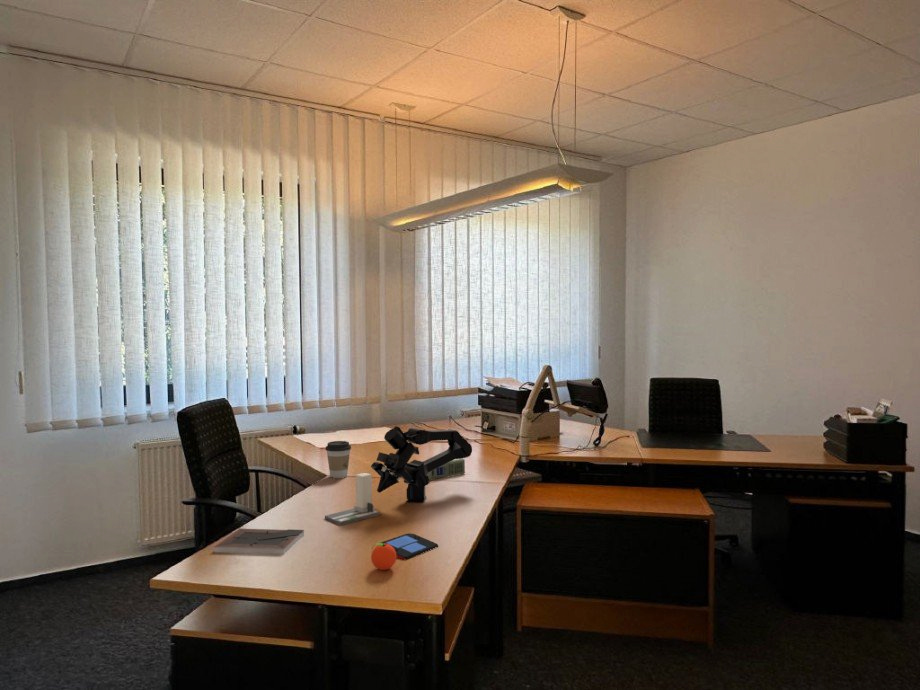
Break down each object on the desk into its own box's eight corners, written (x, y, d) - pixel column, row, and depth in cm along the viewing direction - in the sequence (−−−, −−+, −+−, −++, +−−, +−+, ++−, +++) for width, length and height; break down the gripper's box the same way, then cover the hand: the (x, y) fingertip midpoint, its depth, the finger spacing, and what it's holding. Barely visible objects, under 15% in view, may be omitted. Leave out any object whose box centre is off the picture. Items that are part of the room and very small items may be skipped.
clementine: (363, 569, 171) (362, 544, 171) (379, 561, 177) (379, 536, 177) (385, 576, 167) (385, 550, 166) (401, 567, 172) (401, 542, 172)
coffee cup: (346, 480, 268) (345, 445, 268) (321, 479, 271) (320, 444, 270) (355, 473, 279) (355, 440, 279) (331, 472, 282) (331, 440, 281)
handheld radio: (466, 474, 278) (418, 483, 264) (461, 473, 281) (414, 481, 266) (465, 459, 278) (418, 467, 264) (461, 458, 281) (414, 466, 266)
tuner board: (363, 508, 227) (363, 505, 227) (379, 514, 220) (379, 511, 220) (324, 518, 216) (324, 515, 216) (340, 525, 209) (340, 521, 209)
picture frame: (304, 537, 199) (239, 535, 202) (303, 529, 199) (239, 527, 202) (283, 556, 183) (214, 554, 185) (283, 548, 183) (213, 546, 185)
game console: (404, 562, 178) (404, 554, 178) (375, 551, 186) (375, 543, 186) (439, 548, 188) (439, 540, 188) (410, 538, 197) (410, 531, 197)
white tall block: (366, 506, 225) (365, 472, 224) (378, 511, 219) (377, 475, 219) (354, 509, 221) (353, 474, 221) (366, 514, 216) (365, 478, 215)
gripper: (374, 440, 235) (350, 474, 228) (405, 447, 221) (380, 483, 214) (391, 457, 241) (368, 491, 234) (422, 465, 227) (398, 501, 220)
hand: (378, 491), depth 225 cm, fingers closed
